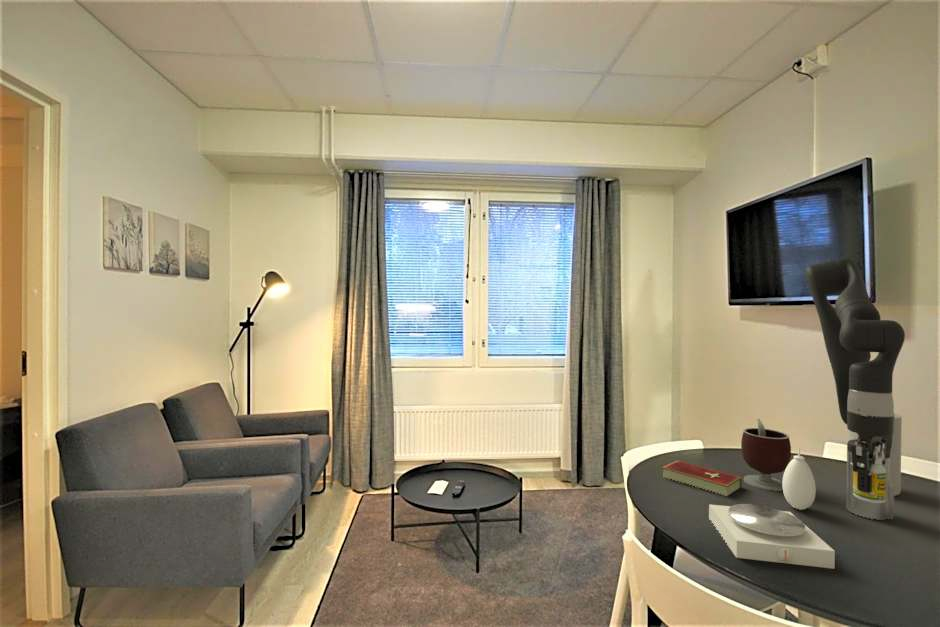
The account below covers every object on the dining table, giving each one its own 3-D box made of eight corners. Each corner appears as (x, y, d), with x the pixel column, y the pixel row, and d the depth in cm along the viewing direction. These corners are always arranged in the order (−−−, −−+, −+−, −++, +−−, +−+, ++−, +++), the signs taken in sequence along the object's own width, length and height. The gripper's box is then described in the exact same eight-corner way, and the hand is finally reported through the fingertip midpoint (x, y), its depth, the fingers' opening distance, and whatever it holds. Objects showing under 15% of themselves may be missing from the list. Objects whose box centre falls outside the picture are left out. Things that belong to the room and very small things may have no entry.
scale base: (789, 526, 119) (790, 511, 119) (836, 570, 99) (836, 552, 99) (708, 518, 123) (709, 504, 123) (737, 559, 103) (737, 541, 103)
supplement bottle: (857, 491, 100) (858, 449, 100) (889, 500, 96) (889, 456, 96) (849, 497, 97) (849, 453, 97) (881, 506, 93) (882, 460, 93)
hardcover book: (677, 471, 162) (677, 459, 162) (741, 489, 146) (741, 476, 146) (661, 478, 154) (661, 466, 154) (727, 498, 138) (727, 485, 138)
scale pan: (785, 510, 117) (785, 507, 117) (819, 540, 102) (819, 537, 102) (719, 504, 121) (719, 501, 121) (742, 532, 105) (742, 529, 105)
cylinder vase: (898, 500, 136) (899, 419, 136) (845, 488, 146) (846, 412, 145) (902, 490, 144) (903, 413, 144) (852, 479, 154) (853, 407, 154)
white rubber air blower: (787, 512, 128) (787, 449, 128) (778, 501, 135) (779, 442, 135) (819, 516, 125) (820, 453, 125) (809, 505, 132) (810, 445, 132)
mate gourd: (797, 494, 140) (798, 431, 140) (747, 488, 145) (747, 427, 145) (780, 477, 155) (781, 420, 155) (735, 472, 159) (736, 417, 159)
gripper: (859, 404, 104) (858, 476, 104) (836, 411, 96) (835, 489, 96) (903, 410, 97) (902, 487, 98) (882, 419, 89) (881, 502, 90)
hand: (869, 488), depth 97 cm, fingers closed on supplement bottle, 5 cm apart
